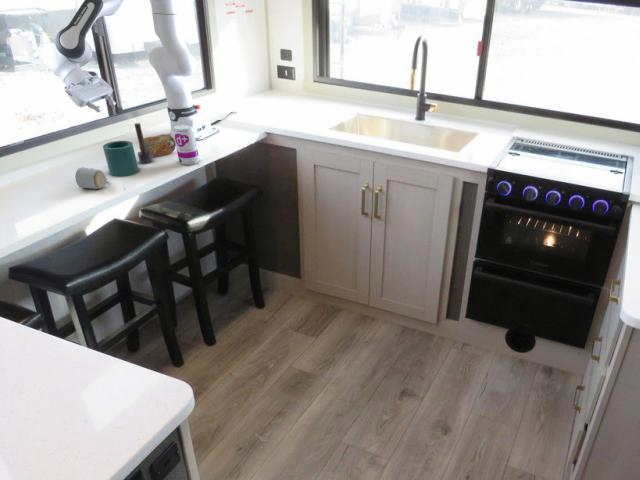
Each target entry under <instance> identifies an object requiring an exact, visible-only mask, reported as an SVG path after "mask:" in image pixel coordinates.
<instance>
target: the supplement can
mask: <svg viewBox="0 0 640 480" xmlns="http://www.w3.org/2000/svg"><path fill="white" fill-rule="evenodd" d="M173 134H174V139H175V144H176V147H175V150H176V152H177V153H176V154H177V158H178V163H180V164H181V165H183V166H191V165H196V164H197V163H199V162H200V157H199V151H198V145H197V140H196V139H195V133H194V129H193V128H192V126H191V125H187V124H183V125H177V126H175V127H174V130H173Z"/></svg>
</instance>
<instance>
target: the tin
mask: <svg viewBox="0 0 640 480" xmlns="http://www.w3.org/2000/svg"><path fill="white" fill-rule="evenodd" d="M143 138H144V143H145V147H146V151H150V153H151V157H152V159H153V158H157V157H162V156H166V155H171V154H172V153H173V152H174V151H175V150H176V144H175V140H174V139H173V138H172V137H171V135H169V134H167V133H162V134H157V135H153V136H152V135H151V136H147V137H143ZM138 146H139V145H138ZM140 151H141V150H140V146H139V152H140Z"/></svg>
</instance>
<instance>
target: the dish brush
mask: <svg viewBox="0 0 640 480" xmlns="http://www.w3.org/2000/svg"><path fill="white" fill-rule="evenodd" d="M134 129H135V132H136V137H137V141H138V146H140V148H139V151H138V152H137V157H138V161H139V164H142V165H146V164H150V163H152V162H153V158H152V157H151V153H150V151H146V147H145V143H144V138H145V137H144V134H143V130H142V126H141V123H140V122H136V123H134ZM140 150H141V151H140Z"/></svg>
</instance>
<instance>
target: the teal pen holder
mask: <svg viewBox="0 0 640 480" xmlns="http://www.w3.org/2000/svg"><path fill="white" fill-rule="evenodd" d="M102 149H103V151H104V152H103V153H104V155H105V161H106V164H107V167H108V171H109V174H110V175H111V176H114V177H127V176H132V175H135V174H136V173H138V172H139V165H138V161H137V157H136V152H135V148H134V144H133V142H132V141H129V140H114V141H110V142H106V143H105V144H103V145H102Z"/></svg>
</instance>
